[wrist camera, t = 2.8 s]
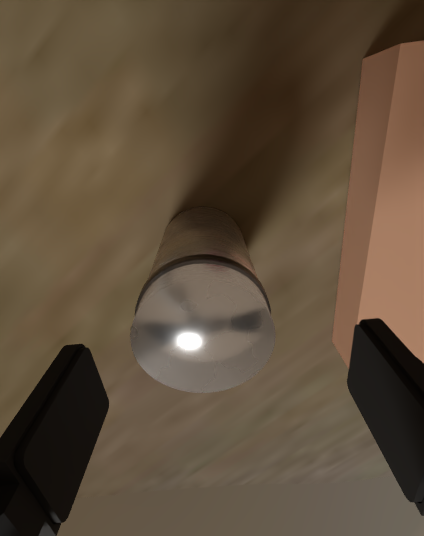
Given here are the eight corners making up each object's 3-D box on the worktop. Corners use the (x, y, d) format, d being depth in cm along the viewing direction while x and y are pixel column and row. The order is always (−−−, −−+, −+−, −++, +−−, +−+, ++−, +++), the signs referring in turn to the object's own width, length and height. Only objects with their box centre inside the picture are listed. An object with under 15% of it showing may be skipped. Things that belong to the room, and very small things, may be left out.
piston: (153, 210, 17) (109, 286, 9) (242, 200, 17) (278, 268, 9) (168, 287, 20) (145, 400, 12) (247, 278, 19) (278, 387, 11)
